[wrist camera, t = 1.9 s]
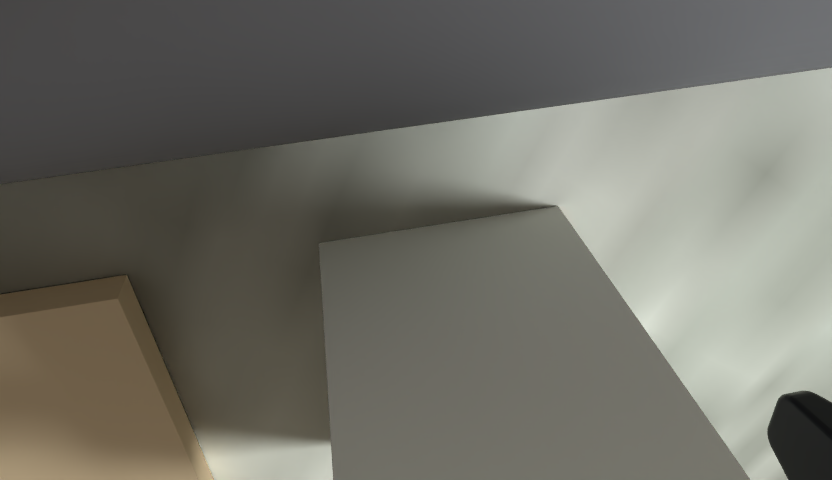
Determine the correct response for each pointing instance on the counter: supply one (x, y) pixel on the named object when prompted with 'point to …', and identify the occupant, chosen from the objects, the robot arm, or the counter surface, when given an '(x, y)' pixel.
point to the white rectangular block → (499, 362)
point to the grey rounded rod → (351, 67)
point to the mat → (88, 390)
